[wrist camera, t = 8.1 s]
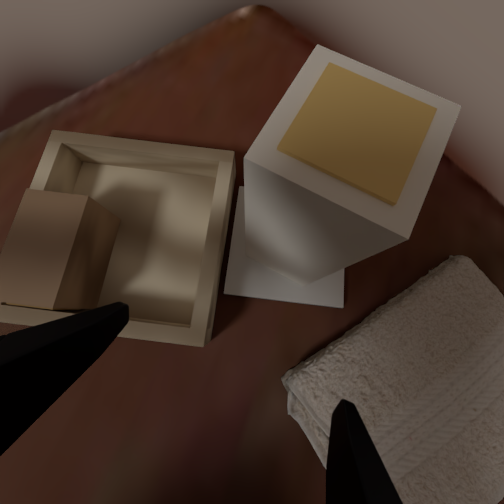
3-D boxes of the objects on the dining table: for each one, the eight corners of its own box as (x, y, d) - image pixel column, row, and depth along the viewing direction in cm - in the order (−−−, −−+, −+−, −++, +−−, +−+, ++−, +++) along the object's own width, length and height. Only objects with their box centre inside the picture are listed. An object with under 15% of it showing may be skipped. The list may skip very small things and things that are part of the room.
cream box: (302, 286, 18) (412, 237, 6) (245, 255, 18) (243, 154, 7) (330, 230, 19) (467, 98, 7) (275, 202, 20) (320, 36, 8)
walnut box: (95, 310, 17) (51, 310, 13) (41, 304, 17) (-19, 302, 13) (120, 219, 19) (88, 195, 15) (71, 213, 19) (26, 188, 15)
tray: (210, 341, 17) (203, 347, 14) (23, 317, 17) (-22, 319, 15) (236, 173, 21) (234, 151, 18) (79, 155, 21) (52, 129, 18)
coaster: (340, 308, 18) (343, 308, 18) (224, 294, 18) (223, 293, 18) (342, 201, 20) (345, 198, 20) (239, 189, 20) (239, 185, 20)
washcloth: (269, 379, 17) (273, 393, 14) (443, 251, 20) (478, 241, 17) (373, 552, 15) (405, 612, 12) (555, 380, 18) (618, 395, 15)
